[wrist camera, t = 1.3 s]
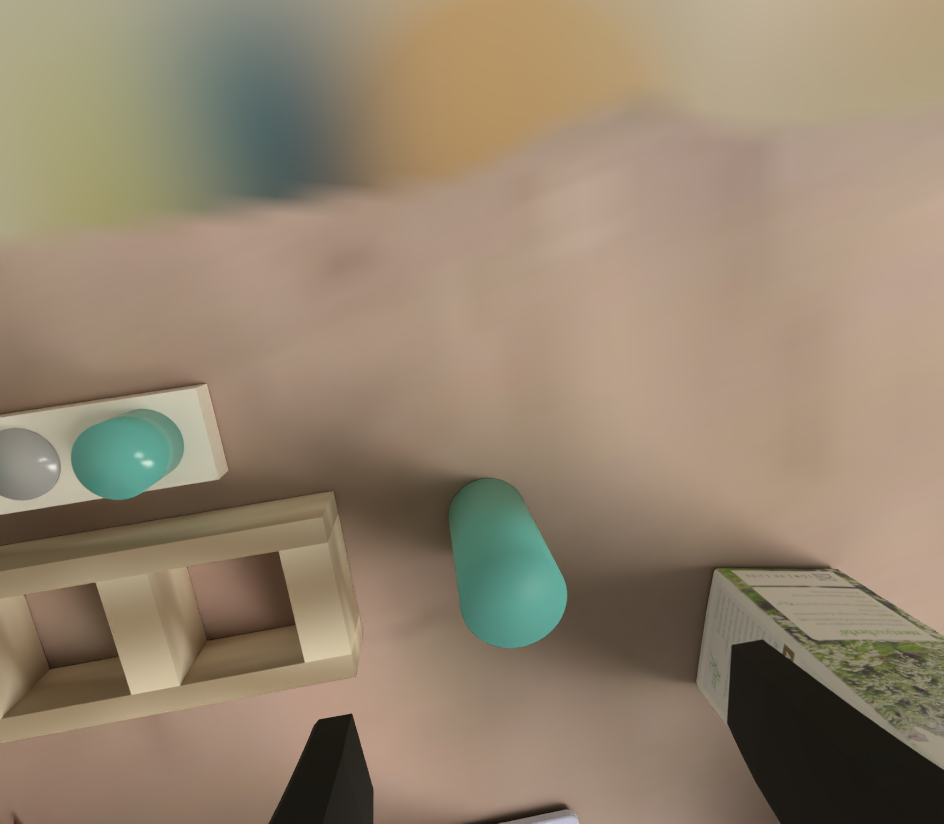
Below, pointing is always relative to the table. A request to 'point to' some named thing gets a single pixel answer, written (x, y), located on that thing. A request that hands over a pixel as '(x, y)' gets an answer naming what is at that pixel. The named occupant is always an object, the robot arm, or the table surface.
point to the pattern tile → (104, 410)
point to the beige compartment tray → (176, 616)
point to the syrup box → (831, 646)
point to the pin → (503, 566)
